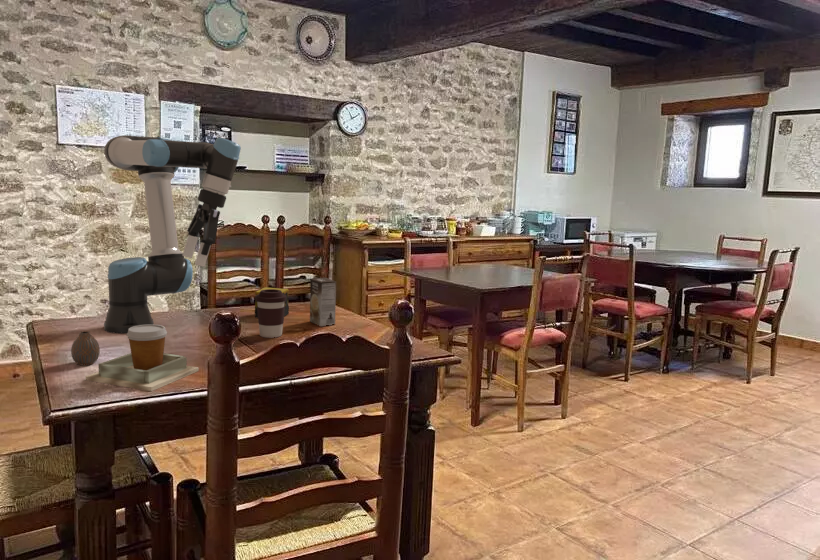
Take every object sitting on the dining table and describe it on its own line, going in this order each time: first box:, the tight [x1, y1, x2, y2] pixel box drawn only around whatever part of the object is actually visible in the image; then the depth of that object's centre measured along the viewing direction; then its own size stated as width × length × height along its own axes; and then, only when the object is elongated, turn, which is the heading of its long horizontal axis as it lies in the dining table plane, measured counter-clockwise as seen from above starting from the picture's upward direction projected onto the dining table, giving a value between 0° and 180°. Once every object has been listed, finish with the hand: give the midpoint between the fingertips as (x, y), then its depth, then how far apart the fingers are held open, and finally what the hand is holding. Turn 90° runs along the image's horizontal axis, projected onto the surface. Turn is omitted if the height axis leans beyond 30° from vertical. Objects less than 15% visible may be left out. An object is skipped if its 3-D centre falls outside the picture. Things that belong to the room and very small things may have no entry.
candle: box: [254, 287, 290, 319], centre depth 238 cm, size 10×10×10 cm
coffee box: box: [309, 277, 337, 327], centre depth 229 cm, size 9×6×16 cm
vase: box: [70, 330, 101, 366], centre depth 172 cm, size 7×7×9 cm
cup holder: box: [85, 352, 200, 392], centre depth 164 cm, size 20×18×4 cm
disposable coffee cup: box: [125, 324, 168, 371], centre depth 161 cm, size 10×10×12 cm
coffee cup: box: [254, 289, 286, 339], centre depth 209 cm, size 10×10×15 cm
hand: (193, 261), depth 186 cm, fingers open, 13 cm apart
